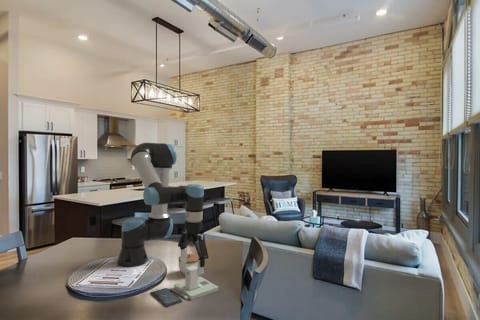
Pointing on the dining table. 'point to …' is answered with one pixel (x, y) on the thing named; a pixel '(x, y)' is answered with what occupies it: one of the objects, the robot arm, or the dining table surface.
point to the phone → (166, 297)
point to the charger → (191, 278)
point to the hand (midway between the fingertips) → (191, 268)
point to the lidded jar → (188, 262)
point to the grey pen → (177, 293)
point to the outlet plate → (203, 289)
